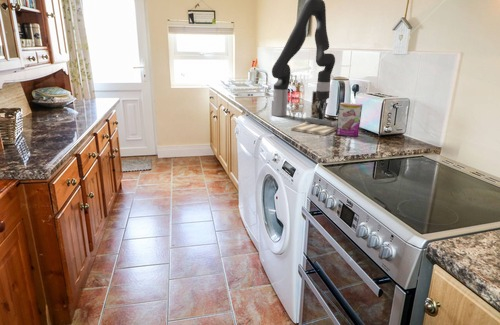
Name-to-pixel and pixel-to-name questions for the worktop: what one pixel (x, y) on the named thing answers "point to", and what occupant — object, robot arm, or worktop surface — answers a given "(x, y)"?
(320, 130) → the striped wooden cutting board
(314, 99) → the coffee box
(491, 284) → the worktop surface
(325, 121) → the swing bar
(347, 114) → the candy bar box
